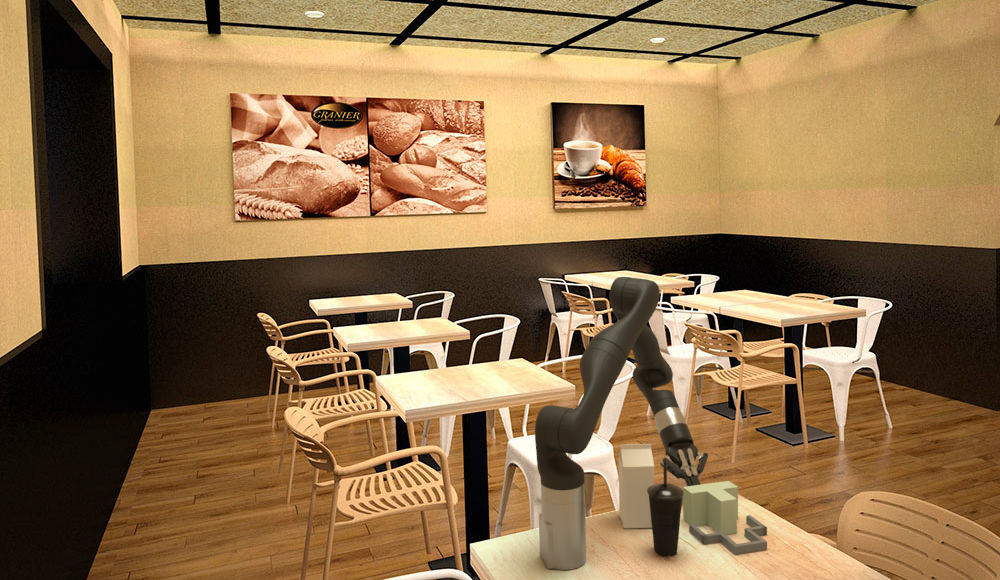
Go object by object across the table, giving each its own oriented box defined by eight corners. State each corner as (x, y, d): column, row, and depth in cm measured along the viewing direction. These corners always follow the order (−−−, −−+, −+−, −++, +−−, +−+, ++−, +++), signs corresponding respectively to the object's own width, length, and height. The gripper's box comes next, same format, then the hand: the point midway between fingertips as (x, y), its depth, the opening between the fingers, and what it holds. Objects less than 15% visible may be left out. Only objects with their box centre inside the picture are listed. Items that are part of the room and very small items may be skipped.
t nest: (718, 557, 150) (718, 549, 150) (689, 531, 162) (689, 524, 162) (783, 547, 154) (783, 539, 154) (750, 522, 166) (750, 515, 166)
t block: (704, 537, 159) (704, 503, 158) (683, 519, 169) (683, 487, 168) (752, 530, 162) (752, 496, 161) (728, 512, 172) (728, 480, 171)
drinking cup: (684, 544, 156) (684, 456, 154) (683, 561, 149) (683, 469, 147) (648, 541, 158) (648, 454, 156) (646, 558, 151) (645, 467, 149)
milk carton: (654, 528, 165) (654, 449, 162) (623, 529, 165) (622, 450, 163) (648, 515, 172) (648, 439, 169) (619, 515, 172) (618, 439, 170)
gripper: (653, 424, 180) (677, 489, 170) (701, 419, 183) (726, 482, 173) (644, 438, 186) (666, 502, 175) (691, 433, 189) (715, 495, 178)
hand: (696, 492), depth 174 cm, fingers closed
